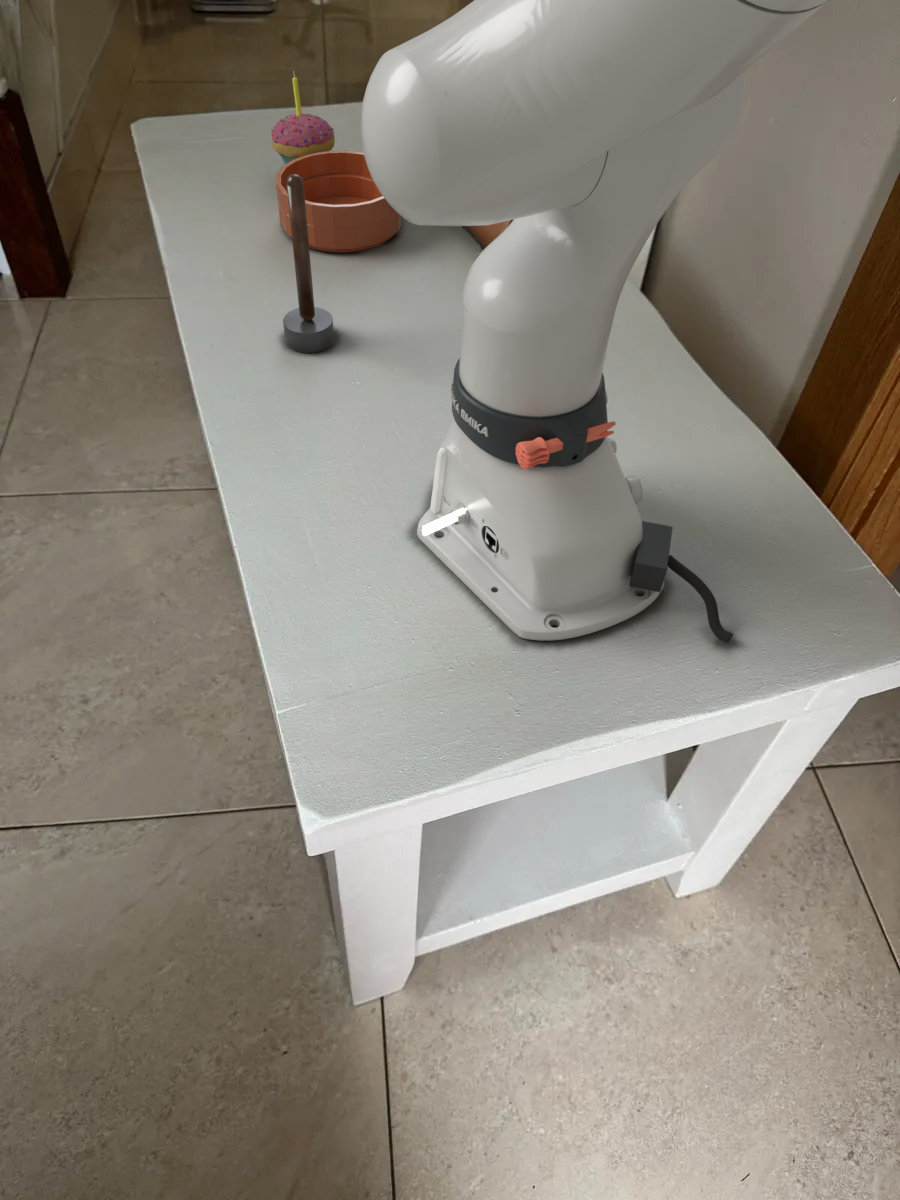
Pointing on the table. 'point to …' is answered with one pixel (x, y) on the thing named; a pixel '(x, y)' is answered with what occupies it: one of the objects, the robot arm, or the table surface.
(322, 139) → the cupcake
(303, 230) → the rod on grey base
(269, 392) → the table surface
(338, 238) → the bowl
